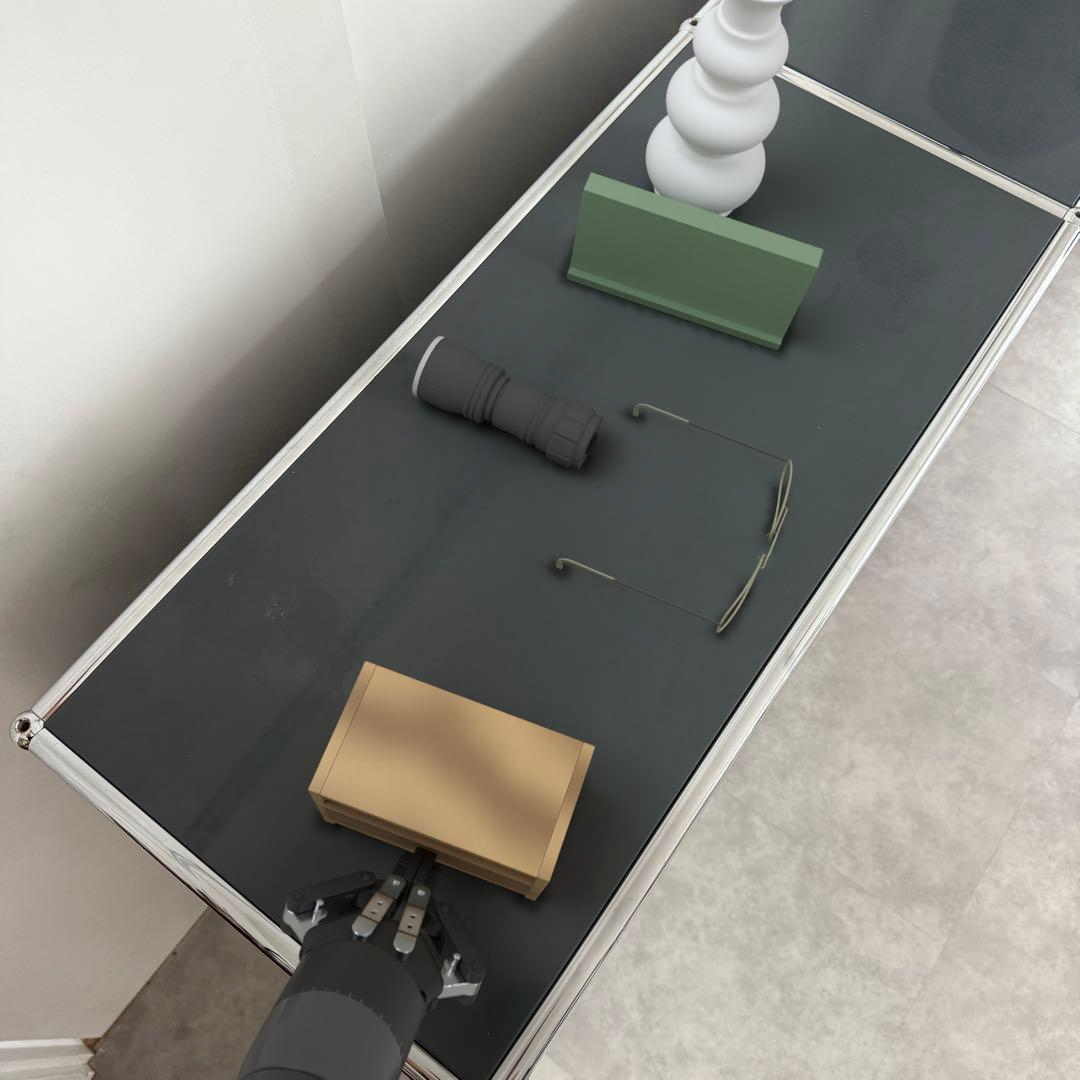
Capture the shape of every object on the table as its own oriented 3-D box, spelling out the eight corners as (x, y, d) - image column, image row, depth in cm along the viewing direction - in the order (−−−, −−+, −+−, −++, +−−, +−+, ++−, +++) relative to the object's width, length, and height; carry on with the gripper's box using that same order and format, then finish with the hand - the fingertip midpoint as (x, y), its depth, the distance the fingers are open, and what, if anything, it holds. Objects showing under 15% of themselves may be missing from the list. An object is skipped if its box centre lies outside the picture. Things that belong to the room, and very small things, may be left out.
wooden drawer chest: (534, 904, 77) (548, 885, 67) (323, 823, 78) (306, 792, 68) (575, 781, 81) (595, 746, 71) (374, 705, 82) (365, 660, 72)
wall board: (777, 351, 98) (816, 274, 88) (566, 279, 99) (580, 195, 89) (790, 308, 100) (830, 228, 90) (583, 238, 101) (599, 152, 91)
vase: (653, 246, 102) (715, 20, 79) (625, 155, 106) (676, -84, 83) (765, 233, 104) (857, 8, 81) (733, 144, 108) (812, -94, 85)
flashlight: (603, 434, 93) (613, 401, 88) (577, 485, 91) (585, 454, 86) (442, 359, 95) (443, 323, 90) (412, 407, 93) (411, 372, 88)
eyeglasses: (727, 646, 86) (743, 625, 82) (554, 568, 88) (561, 542, 83) (793, 484, 93) (811, 456, 88) (631, 413, 94) (641, 382, 90)
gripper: (470, 1050, 55) (534, 851, 71) (226, 952, 56) (344, 778, 72) (430, 1155, 57) (501, 940, 74) (197, 1060, 58) (318, 868, 75)
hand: (423, 860), depth 73 cm, fingers closed
